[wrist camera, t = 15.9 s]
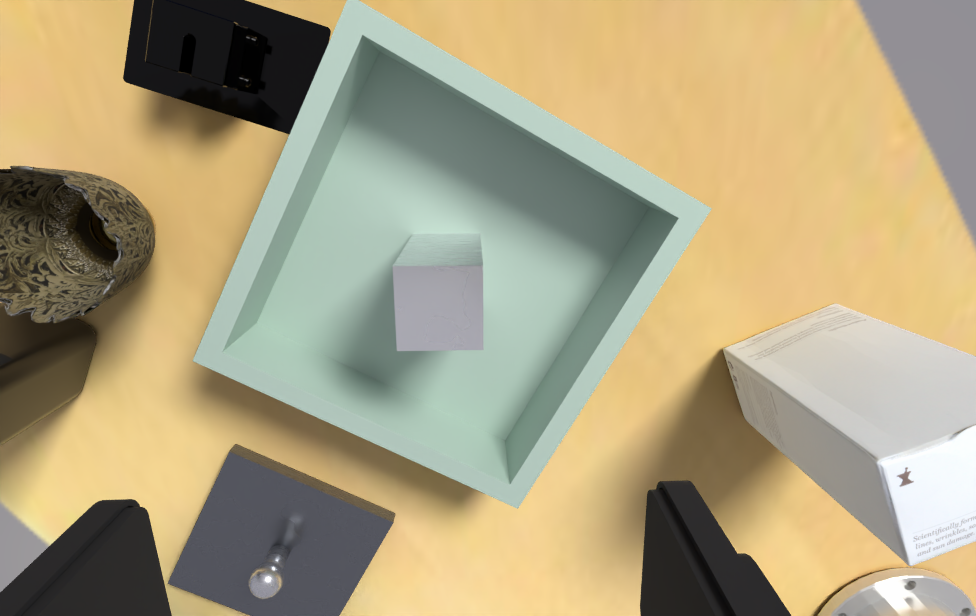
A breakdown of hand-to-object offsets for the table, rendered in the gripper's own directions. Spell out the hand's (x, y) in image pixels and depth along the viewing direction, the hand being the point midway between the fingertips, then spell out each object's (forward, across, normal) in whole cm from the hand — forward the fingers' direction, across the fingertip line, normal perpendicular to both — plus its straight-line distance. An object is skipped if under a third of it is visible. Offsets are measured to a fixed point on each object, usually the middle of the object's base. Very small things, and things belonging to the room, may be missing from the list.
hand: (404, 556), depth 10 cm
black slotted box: (+26, +12, -12) cm, 31 cm away
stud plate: (+26, +13, +20) cm, 35 cm away
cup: (+26, +19, -3) cm, 32 cm away
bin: (+26, 0, 0) cm, 26 cm away
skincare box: (+26, -22, +7) cm, 35 cm away
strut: (+25, 0, 0) cm, 25 cm away
